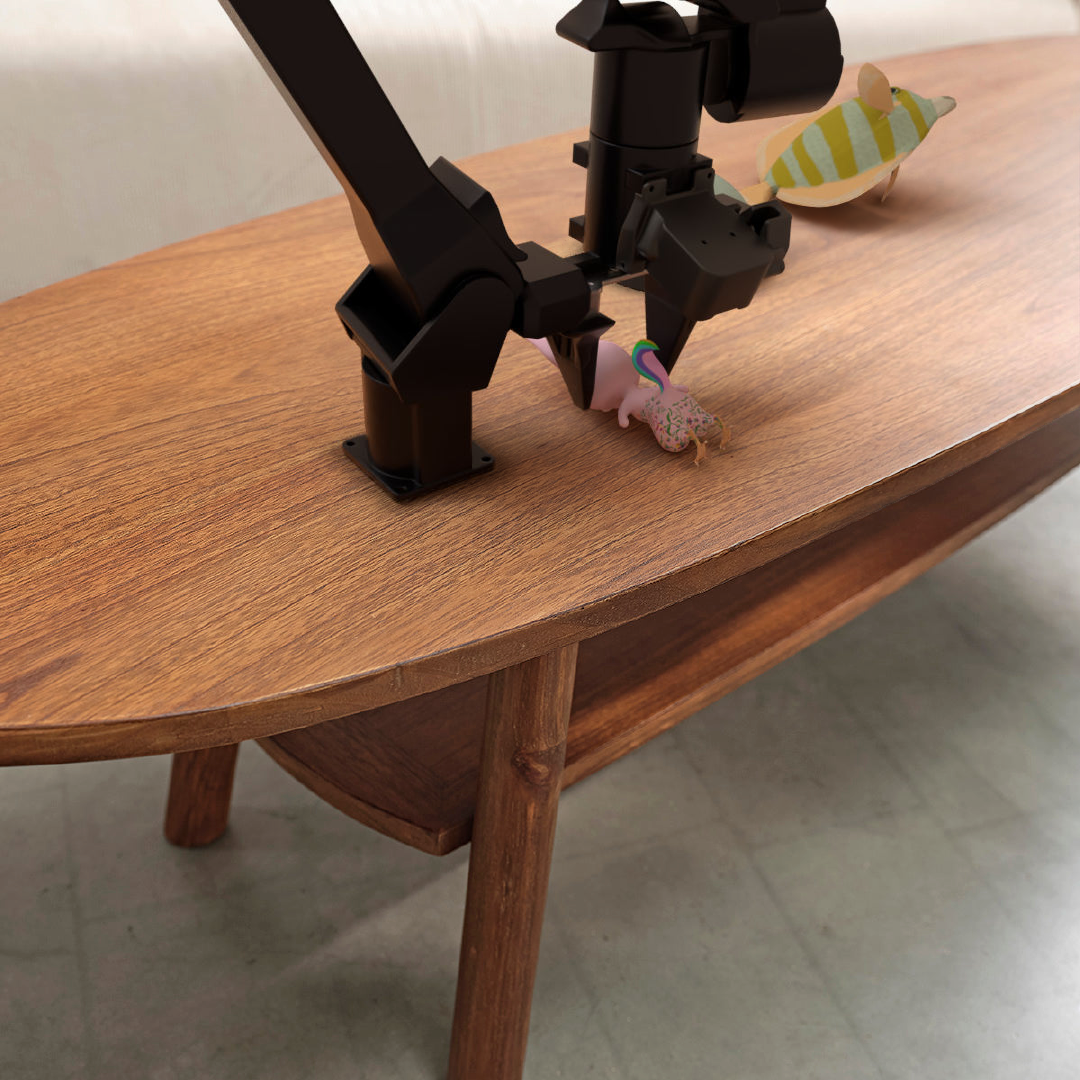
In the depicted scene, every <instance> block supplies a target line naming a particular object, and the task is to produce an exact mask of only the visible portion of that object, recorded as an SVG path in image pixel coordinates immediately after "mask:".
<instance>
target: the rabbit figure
mask: <svg viewBox="0 0 1080 1080" xmlns="http://www.w3.org/2000/svg"><path fill="white" fill-rule="evenodd" d="M524 339H525V340H527V341H528V342H529V343H531V344H532V345H533V346H534V347H535V348H536V349H537V350H538V351H539V352H540V353H541V354H542V356H544V358H546V359H547V360H548V362H550V363H551V364H552V365H553V366H554V367H556V368H557V369H559V367H558V365H557V362H556V360H555V358H554V355H553V353H552V351H551V349H550V346H549V344H548V342H547V340H546V338H541V339H529V338H524ZM653 350H659V348H658V346H657V345H656V344H655V343H654V342H652V341H650V340H647V339H646V338H641V339H639V340H638V341H637V342H635V345H634V347H633V348H632V352H631V354H630V353H629V352H628V351H627V350H626V349H624V348H623V347H621V346H620V345H619V344H617V343H615V342H613V341H610V340H607V339H599V346H598V356H597V366H596V376H595V386H594V393H593V398H592V402H591V406H590V409H592V410H595V411H596V410H598V411H599V410H601V411H602V412H604V413H606V412H610V411H611V410H613V409H618V412H617V417H618V418H617V419H618V424H619V426H620V427H621V428H624V429H625V428H627V427H629V425H630V421H629V418H628V416H629V415H630V414H631V415H632V416H633V418H636V420H638V421H640V422H643V423H648V425H649V427H650V428H651V430H652V432H653V435H654V437H655V438H656V441H657V442H658V444H659V445H660V447H662V448H663V449H664V450H665V451H668V452H672V453H677V452H681V451H683V450H684V449H686V447H687V446H688V445H689V443H690V442H691V441H693V443H694V444H695V445H696V448H697V449H696V454H697V455H696V456H695V459H694V461H693V462H694V465H696V466H697V467H698V468H699V465H700V464H699V460H701V459H703V458H705V459H707V457H706V455H705V453H706V450H707V447H706V445H705V444H707V443H708V442H709V440H704V441H703V443H701V441H700V440H701V439H702V438H704V437H705V436H706V434H707V433H708V432H709V430H710V429H711V428H712V427H715V426H717V427H719V429H720V430H721V433H722V435H721V436H722V439H721V441H720V443H719V448H720V450H721V449H723V450H724V451H726V450H725V449H726V448H725V444H727V443H728V444H731V442H730V440H731V434H732V431H731V428H733V427H734V424H733V425H732V424H730V425H729V426H728V427H726V425H725V424H724V422H723V420H722V418H721V416H720V415H719V414H710V413H708V412H706V411H705V410H704V409H703V408H702V406H700V404H699V402H698V401H697V400H696V399H695V398H694V396H691V395H690V394H688V393H689V391H690V388H689V386H688V385H687V384H672V382H671V380H670V378H669V377H670V376H669V377H668V375H667V372H666V370H665V369H664V367H663V366H662V364H661V363H660V362H659V361H658V359H657V358H656V357H655V355H654V354H653ZM641 376H642V377H643V378H645V379H646V380H649V381H651V382H653V383H655V384H656V385H654V386H649V387H642V386H639V383H640V381H641Z"/></svg>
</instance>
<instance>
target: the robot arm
mask: <svg viewBox="0 0 1080 1080" xmlns="http://www.w3.org/2000/svg"><path fill="white" fill-rule="evenodd" d="M679 1H683V2H687V3H690V4H691V5H692V4H693V5H695V6H697V12H696V14H694V15H684V16H683V15H681V14H680V13H679V12H678V10H677V9H676V8H675V7H673V6H672V5H671V4H670V3H668V2H665V1H662V0H649V1H636V2H635V1H633V2H624V3H623V2H622V3H621V1H620V0H581V1H580V2H579V3H578V4H577V5H575V6H574V7H573V8H571V9H570V10H568V12H566V13H565V14H564V15H563V17H562V18H560V19H559V20H558V21H557V22H556V24H555V28H554V29H555V33H556V35H557V36H558V37H560V38H562V39H563V40H567V41H568V42H570V43H572V44H574V45H576V46H579V47H580V48H582V49H584V50H587V51H588V52H591V53H594V54H593V69H592V70H593V71H592V84H591V85H592V87H591V103H590V118H589V131H588V132H589V135H588V140H583V141H577V142H573V145H572V160H571V161H572V164H575V165H577V166H579V167H582V168H584V169H586V182H585V183H586V184H585V197H584V198H585V199H584V211H583V212H584V213H583V214H581V215H576V216H572V217H569V218H568V237H570V238H572V239H574V240H575V241H577V242H579V243H581V244H582V251H583V252H581V253H576V254H573V255H570V256H566V257H562V256H560V255H558V254H556V253H555V252H553V251H551V250H549V249H548V248H545V247H543V246H542V245H540V244H539V243H537V242H535V241H533V240H529V241H524V242H521V243H517V244H516V243H514V241H513V240H512V238H511V237H510V236H509V233H508V231H507V229H506V226H505V223H504V221H503V217H502V214H501V211H500V208H499V206H498V204H497V202H496V200H495V198H494V197H493V194H492V193H491V192H490V191H489V190H488V189H487V188H485V187H483V186H482V185H481V184H480V183H478V182H477V181H476V180H474V179H473V178H472V177H471V176H469V175H468V174H467V173H465V172H464V171H463V170H461V169H460V168H459V167H457V166H456V165H455V164H453V163H452V162H450V161H449V160H448V159H447V158H445V157H444V156H443V155H440V156H438V157H437V158H436V159H435V161H433V163H432V164H431V165H430V166H429V165H428V163H427V162H426V161H425V159H424V157H423V155H422V154H421V152H420V149H419V148H418V147H417V145H416V143H415V142H414V140H413V138H412V137H411V135H410V133H409V131H408V130H407V128H406V126H405V124H404V123H403V121H402V120H401V118H400V116H399V114H398V112H397V111H396V109H395V108H394V106H393V104H392V103H391V101H390V99H389V98H388V96H387V94H386V92H385V91H384V89H383V87H382V86H381V84H380V82H379V80H378V79H377V77H376V75H375V73H374V72H373V70H372V69H371V67H370V65H369V64H368V62H367V60H366V58H365V56H364V55H363V54H362V52H361V50H360V48H359V47H358V44H357V43H356V41H355V40H354V38H353V37H352V35H351V33H350V32H349V31H350V30H348V28H347V26H346V25H345V23H344V21H343V19H342V17H341V16H340V14H339V12H338V11H337V9H336V7H335V6H334V4H333V3H332V1H331V0H217V2H218V3H219V5H220V7H221V8H222V9H223V11H224V12H225V14H226V15H227V17H228V18H229V20H230V22H231V23H232V24H233V26H234V28H235V29H236V31H237V32H238V33H239V35H240V36H241V38H242V39H243V41H244V42H245V44H246V46H247V47H248V48H249V50H250V51H251V53H252V54H253V56H254V57H255V59H256V60H257V62H258V63H259V64H260V66H261V68H262V69H263V70H264V71H263V72H265V74H266V75H267V76H268V78H269V80H270V81H271V82H272V84H273V86H274V87H275V89H276V90H277V92H278V93H279V94H280V96H281V98H282V99H283V101H284V102H285V103H286V105H287V107H288V108H289V110H290V111H291V113H292V115H294V117H295V118H296V120H297V122H298V123H299V125H300V126H301V127H302V129H303V130H304V132H305V134H306V135H307V136H308V138H309V140H310V141H311V143H312V144H313V146H314V147H315V149H316V151H318V153H319V155H320V156H321V157H322V159H323V161H324V162H325V164H326V166H328V168H329V169H330V171H331V173H332V174H333V176H334V177H335V179H336V180H337V181H338V183H339V184H340V186H341V188H342V189H343V190H344V193H345V195H346V197H347V200H348V203H349V206H350V211H351V215H352V218H353V222H354V225H355V230H356V233H357V236H358V238H359V241H360V244H361V246H362V248H363V250H364V252H365V254H366V257H367V260H368V261H369V263H368V264H367V266H366V267H365V268H364V269H363V271H362V272H361V273H360V274H359V275H358V276H357V277H356V279H355V280H354V281H353V282H352V284H351V285H350V286H349V287H348V289H347V290H346V291H345V292H344V293H343V294H342V296H341V297H340V298H339V299H338V300H337V302H336V303H335V305H334V311H335V313H336V316H337V317H338V320H339V322H340V323H341V325H342V328H343V330H344V332H345V334H346V335H347V337H348V338H349V339H350V340H351V341H354V344H356V345H357V346H358V348H359V350H360V362H361V363H360V365H361V370H360V371H361V385H362V399H363V400H362V402H363V416H364V428H365V429H364V430H365V433H363V434H360V435H357V436H354V437H351V438H348V439H345V440H343V442H341V448H342V452H343V454H344V455H346V457H347V458H349V459H350V460H351V461H352V462H353V463H354V464H355V465H356V466H357V467H359V468H360V469H361V471H363V472H364V473H365V474H366V475H367V476H368V477H369V478H370V479H371V480H372V481H374V483H376V484H377V485H378V486H379V487H380V488H381V489H382V490H383V491H384V492H385V493H387V495H388V496H389V497H391V499H393V500H394V501H397V502H405V501H408V500H411V499H414V498H417V497H419V496H422V495H425V494H427V493H431V492H433V491H436V490H439V489H441V488H444V487H447V486H450V485H453V484H455V483H457V482H460V481H464V480H466V479H469V478H471V477H475V476H477V475H480V474H482V473H485V472H488V471H490V470H493V469H494V468H495V467H496V458H495V456H493V455H492V454H491V453H490V452H488V451H487V449H485V448H483V446H481V445H480V444H479V443H477V442H476V441H475V440H473V393H474V392H479V391H483V390H485V389H487V388H488V387H489V385H490V382H491V380H492V377H493V374H494V371H495V368H496V366H497V363H498V360H499V358H500V354H501V352H502V349H503V346H504V344H505V342H506V338H507V335H508V333H509V332H510V331H512V332H513V333H515V334H516V335H518V336H519V337H521V338H522V339H525V338H529V339H541V338H546V340H547V342H548V344H549V346H550V349H551V351H552V353H553V355H554V358H555V360H556V362H557V365H558V367H559V368H558V369H559V372H560V374H561V377H562V379H563V381H564V383H565V386H566V388H567V390H568V393H569V396H570V398H571V400H572V402H573V404H574V406H575V407H577V408H578V409H579V410H581V411H583V412H586V411H589V410H590V409H591V408H590V406H591V402H592V398H593V393H594V386H595V376H596V366H597V356H598V346H599V340H601V339H600V338H601V337H602V336H604V335H605V333H607V332H608V331H609V330H610V329H612V328H613V327H614V326H615V325H616V322H617V321H616V320H614V319H612V318H611V317H609V316H607V315H606V314H604V313H603V312H601V310H600V309H601V307H600V306H601V297H602V295H601V294H602V293H603V291H604V289H603V288H604V287H605V286H608V285H613V284H616V282H620V281H623V280H627V279H630V278H634V277H637V276H641V275H644V290H645V291H644V311H645V315H644V316H645V339H647V340H650V341H652V342H654V343H655V344H656V345H657V346H658V348H659V350H653V354H654V355H655V357H656V358H657V359H658V361H659V362H660V363H661V364H662V366H663V367H664V369H665V370H666V372H667V375H668V377H670V375H671V373H672V372H673V369H674V367H675V365H676V363H677V361H678V360H679V357H680V356H681V353H682V351H683V350H684V348H685V345H686V344H687V342H688V340H689V338H690V336H691V334H692V332H693V330H694V329H695V326H696V324H697V323H698V322H705V321H709V320H711V319H713V318H714V317H715V316H717V315H721V314H723V313H727V312H730V311H733V310H735V309H737V310H743V309H746V308H748V307H749V306H750V305H751V303H752V301H753V299H754V297H755V296H756V293H757V291H758V289H759V287H760V286H761V284H762V282H763V281H764V280H765V279H770V278H772V277H775V276H779V275H781V274H783V273H784V272H785V269H786V263H785V260H784V259H785V257H786V255H787V254H788V252H789V249H790V245H791V232H792V219H793V214H792V213H791V212H790V211H789V210H788V209H787V208H786V207H785V206H784V205H783V204H782V202H780V201H779V200H778V199H770V200H769V201H767V202H763V203H759V204H755V205H752V206H751V205H749V204H746V203H744V202H742V201H740V200H737V199H735V198H733V197H730V196H728V195H726V194H724V193H721V194H717V195H715V193H714V179H715V174H716V170H715V169H714V167H713V162H714V158H711V157H710V156H707V155H705V154H704V155H703V154H702V153H700V152H698V149H699V141H700V132H701V124H702V117H703V109H705V111H706V113H707V114H708V116H710V117H711V118H712V119H713V120H714V121H716V122H718V123H720V124H735V123H744V122H750V121H751V122H752V121H758V120H764V119H765V120H766V119H773V118H781V117H789V116H790V117H791V116H796V115H804V114H812V113H814V112H816V111H819V110H821V109H823V108H825V106H826V105H827V104H829V102H830V100H831V99H832V98H833V97H834V95H835V93H836V91H837V89H838V87H839V85H840V81H841V78H842V74H843V71H844V64H845V58H844V55H843V54H842V41H841V37H840V32H839V28H838V25H837V23H836V20H835V18H834V16H833V14H832V13H831V11H830V9H829V8H828V7H827V2H828V0H679Z"/></svg>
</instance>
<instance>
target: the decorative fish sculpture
mask: <svg viewBox="0 0 1080 1080" xmlns="http://www.w3.org/2000/svg"><path fill="white" fill-rule="evenodd" d="M856 85H857V90H858V91H857V92H858V95H859V96H856V97H853V98H851V99H848V100H845V101H841V102H838V103H835V104H832V105H829V106H826V107H823V108H821V109H819V110H818V111H814V112H811V113H808V114H807V115H804V116H803V117H800V118H798V119H796V120H794V121H792V122H790V123H788V124H786V125H784V126H782V127H780V128H778V129H777V130H775V131H772V132H771V133H770V134H768V135H766V136H765V137H764V138H763V139H762V140H761V141H760V143H758V146H757V148H756V151H755V166H756V167H755V168H756V172H757V176H758V180H759V182H760V183H756V184H753V185H750V186H748V187H745V188H742V189H741V190H738V192H739V193H740V194H741V195H742V196H743V198H744V199H745V201H746V202H747V204H749V205H751V206H752V205H755V204H759V203H763V202H767V201H771V199H773V198H774V199H775V198H777V199H779V200H780V201H782V202H785V203H788V204H792V205H796V206H803V207H811V208H828V207H833V206H837V205H840V204H843V203H844V204H845V203H847V202H849V201H851V200H854V199H856V198H858V197H860V196H861V195H863V194H864V193H866V192H868V191H869V190H871V189H872V188H874V187H875V186H876V185H878V184H879V183H880V182H881V181H883V180H884V179H885V178H886V177H888V175H890V177H889V181H888V184H887V185H886V188H885V190H884V193H883V195H882V198H881V203H883V202H884V201H885V199H886V198H887V197H888V196H889V194H890V192H891V190H892V189H893V187H894V185H895V183H896V180H897V178H898V174H899V171H900V167H901V164H902V163H903V162H904V161H905V160H906V159H908V158H909V157H910V156H911V155H912V153H913V152H914V151H915V150H916V149H917V147H919V146H920V145H921V143H922V142H924V140H925V138H926V137H927V136H928V134H929V133H930V131H931V129H933V126H934V125H935V123H936V122H937V121H938V120H939V119H941V118H942V117H945V116H946V115H948V114H949V113H951V112H953V111H954V110H955V109H956V108H957V106H958V105H957V100H956V99H955V98H954V97H953V96H950V95H939V96H935V97H931V98H925V97H922V96H920V95H919V94H917V93H915V92H913V91H911V90H909V89H902V88H900V87H899V86H891V85H890V81H889V79H888V78H887V76H886V75H885V73H884V72H883V71H882V70H880V69H879V68H878V67H877V66H875V65H874V64H873V63H869V62H865V63H864V64H863V65H862V66H861V67H860V69H859V71H858V74H857V84H856Z"/></svg>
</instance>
